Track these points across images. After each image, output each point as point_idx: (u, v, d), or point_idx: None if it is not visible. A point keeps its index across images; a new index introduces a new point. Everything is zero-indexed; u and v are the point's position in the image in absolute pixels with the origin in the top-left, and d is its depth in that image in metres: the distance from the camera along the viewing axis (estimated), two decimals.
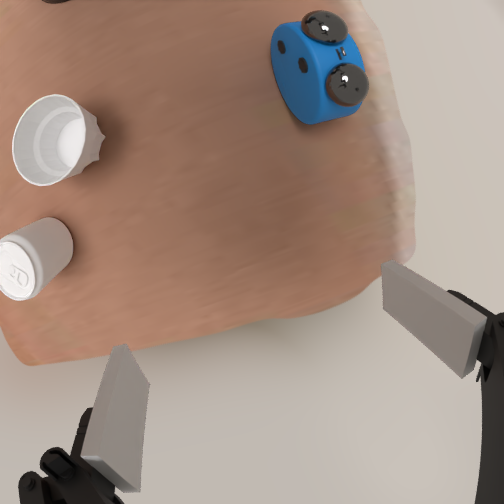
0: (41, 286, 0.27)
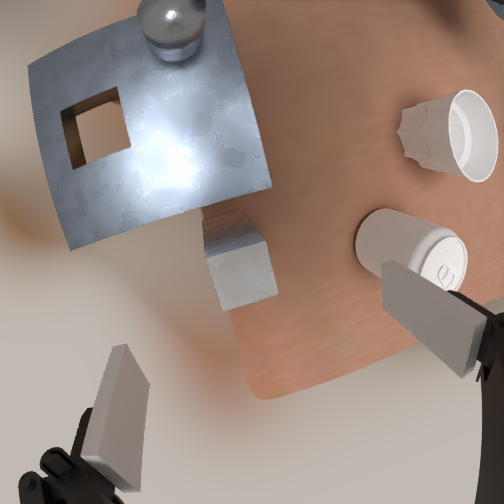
0: None
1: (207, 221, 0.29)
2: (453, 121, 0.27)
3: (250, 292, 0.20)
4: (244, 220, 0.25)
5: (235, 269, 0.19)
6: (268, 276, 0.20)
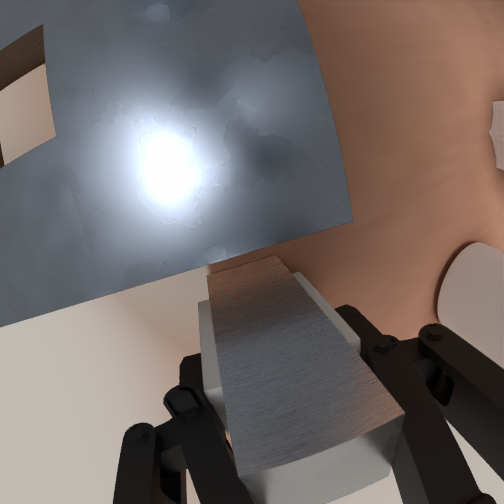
0: None
1: (217, 280, 0.15)
2: None
3: (337, 491, 0.06)
4: (301, 295, 0.12)
5: (317, 476, 0.06)
6: (383, 463, 0.06)
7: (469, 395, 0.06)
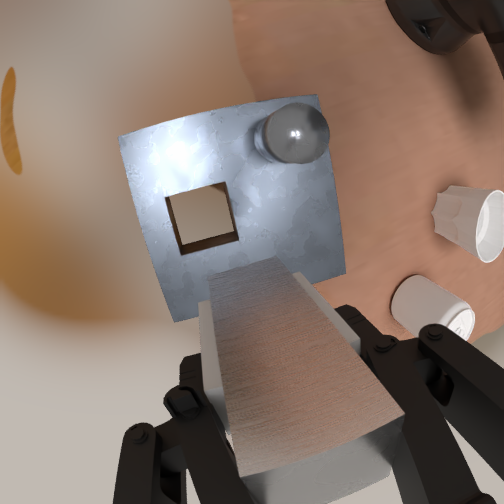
0: None
1: (218, 281, 0.15)
2: None
3: (337, 492, 0.06)
4: (301, 296, 0.12)
5: (317, 476, 0.06)
6: (383, 463, 0.06)
7: (469, 395, 0.06)
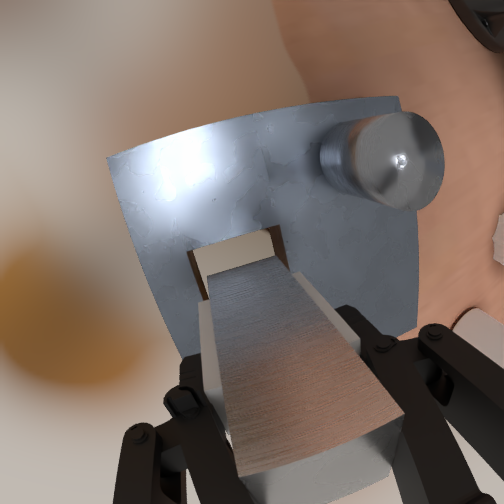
0: None
1: (218, 281, 0.15)
2: None
3: (337, 492, 0.06)
4: (301, 296, 0.12)
5: (317, 476, 0.06)
6: (382, 463, 0.06)
7: (469, 395, 0.06)
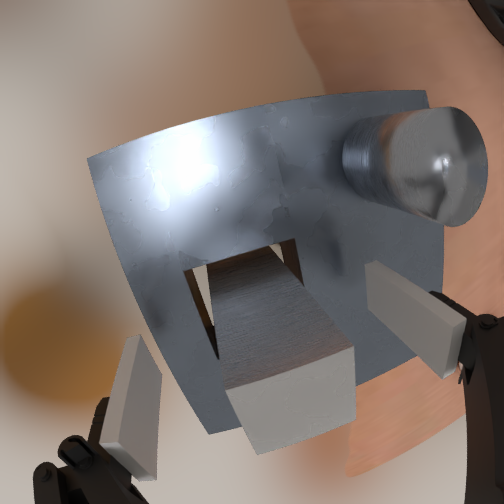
0: None
1: (215, 261, 0.18)
2: None
3: (309, 427, 0.09)
4: (282, 269, 0.15)
5: (287, 401, 0.08)
6: (346, 400, 0.09)
7: None
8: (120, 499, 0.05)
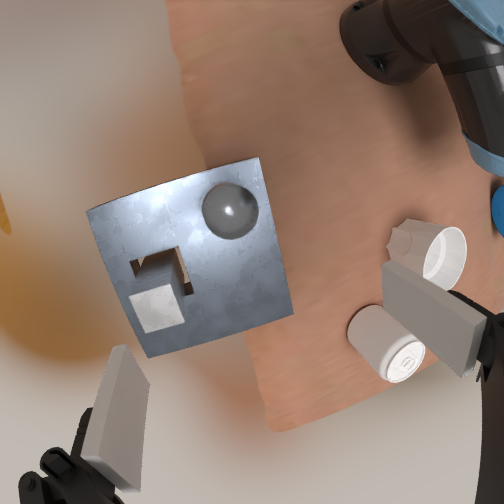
0: None
1: (147, 258, 0.34)
2: None
3: (163, 320, 0.26)
4: (170, 260, 0.31)
5: (150, 304, 0.25)
6: (175, 309, 0.25)
7: None
8: None
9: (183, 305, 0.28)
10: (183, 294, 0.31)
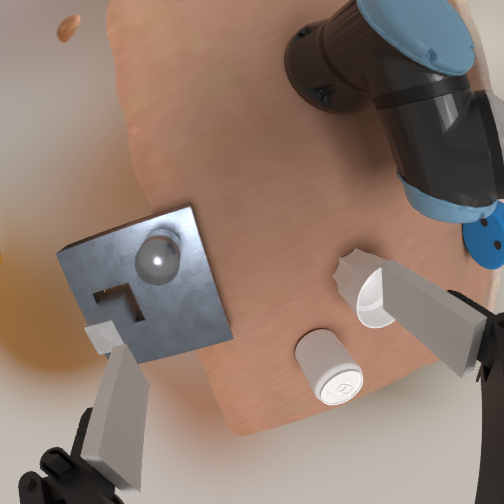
0: None
1: (109, 288, 0.39)
2: None
3: (110, 346, 0.30)
4: (121, 294, 0.36)
5: (100, 334, 0.30)
6: (118, 338, 0.30)
7: None
8: None
9: (129, 333, 0.33)
10: (132, 322, 0.36)
